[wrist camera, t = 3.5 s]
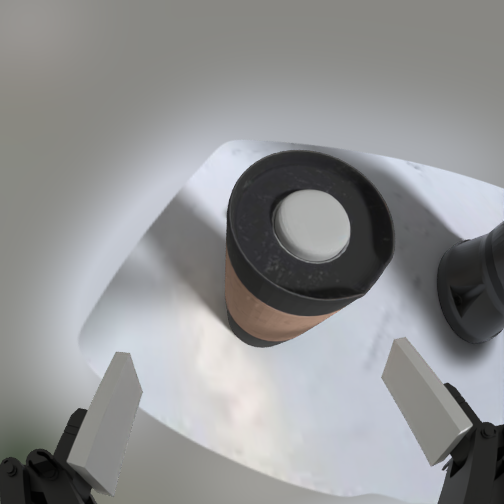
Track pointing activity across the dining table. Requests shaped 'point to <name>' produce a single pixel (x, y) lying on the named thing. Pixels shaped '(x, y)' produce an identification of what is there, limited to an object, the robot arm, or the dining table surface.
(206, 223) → the dining table surface
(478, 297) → the robot arm
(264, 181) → the travel mug
